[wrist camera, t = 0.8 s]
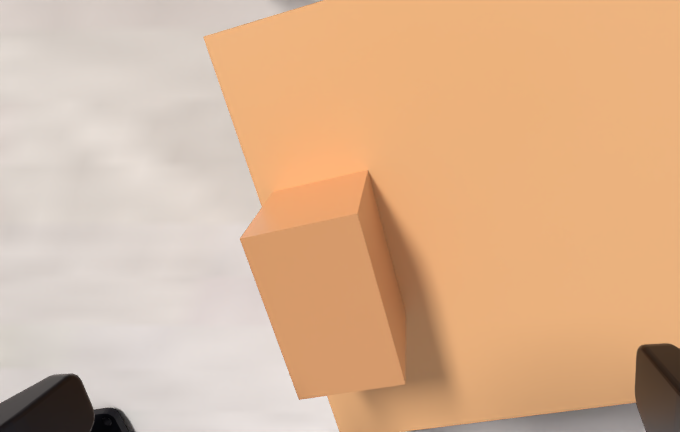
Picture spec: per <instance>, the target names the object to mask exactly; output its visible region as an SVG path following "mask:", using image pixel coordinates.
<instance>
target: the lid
mask: <svg viewBox="0 0 680 432" xmlns="http://www.w3.org/2000/svg"><path fill="white" fill-rule="evenodd" d="M204 40H205V43H206V46H207V49H208V52H209V55H210V58H211V61H212V63H213V66H214V69H215V72H216V75H217V78H218V81H219V84H220V87H221V90H222V92H223V95H224V98H225V101H226V104H227V107H228V110H229V113H230V116H231V119H232V121H233V124H234V127H235V130H236V133H237V136H238V139H239V142H240V145H241V148H242V150H243V153H244V156H245V159H246V162H247V165H248V168H249V171H250V174H251V177H252V179H253V182H254V185H255V188H256V191H257V194H258V197H259V200H260V203H261V206H262V208H261V209H260V211H259V212H258V214H257V215H256V217H255V218H254V219H253V221H252V222H251V224H250V225H249V226H248V228H247V229H246V231H245V232H244V234H243V235H242V236H241V238H240V241H241V243H242V246H243V249H244V251H245V254H246V257H247V260H248V262H249V265H250V268H251V270H252V273H253V276H254V279H255V281H256V284H257V287H258V289H259V292H260V295H261V298H262V300H263V303H264V306H265V308H266V311H267V314H268V317H269V319H270V322H271V325H272V327H273V330H274V333H275V336H276V338H277V341H278V344H279V347H280V349H281V352H282V355H283V357H284V360H285V363H286V366H287V368H288V371H289V374H290V376H291V379H292V382H293V385H294V387H295V390H296V393H297V395H298V398H299V400H300V399H307V398H314V397H321V396H327V397H328V400H329V403H330V406H331V408H332V411H333V414H334V417H335V420H336V423H337V426H338V429H339V432H405V431H413V430H421V429H429V428H437V427H445V426H453V425H461V424H469V423H477V422H485V421H493V420H501V419H509V418H517V417H525V416H533V415H541V414H549V413H557V412H565V411H573V410H581V409H589V408H597V407H605V406H613V405H621V404H629V403H636V399H635V371H636V353H637V350H638V348H639V347H640V346H641V345H643V344H660V343H669V344H672V345H675V346H676V347H678V348H680V0H323V1H320V2H316V3H313V4H310V5H306V6H303V7H300V8H297V9H293V10H290V11H287V12H283V13H280V14H277V15H274V16H270V17H267V18H264V19H260V20H257V21H254V22H250V23H247V24H244V25H241V26H237V27H234V28H231V29H227V30H224V31H221V32H218V33H214V34H211V35H208V36H204Z"/></svg>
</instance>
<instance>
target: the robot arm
mask: <svg viewBox="0 0 680 432" xmlns="http://www.w3.org/2000/svg"><path fill="white" fill-rule="evenodd" d="M635 399H636V404H637V408H638V411H639V413H640V416H641V419H642V422H643V424H644V427H645V430H646V432H680V348H678V347H676V346H675V345H672V344H669V343H660V344H643V345H641V346H640V347H639V348H638V350H637V353H636V371H635ZM0 432H129V431H128V429H127V427H126V426H125V424H124V422H123V420H122V418H121V416H120V414H119V413H118V411H116V410H115V409H112V408H102V409H96V410H94V409H93V407H92V404H91V402H90V400H89V397H88V395H87V392H86V390H85V388H84V385H83V383H82V381H81V379H80V378H79V377H78V376H77V375H75V374H56V375H52V376H49V377H47V378H45V379H44V380H42V381H40V382H38V383H36V384H35V385H33V386H31V387H29V388H27V389H25V390H24V391H22V392H20V393H18V394H16V395H15V396H13V397H11V398H9V399H7V400H5V401H4V402H2V403H0Z"/></svg>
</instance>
